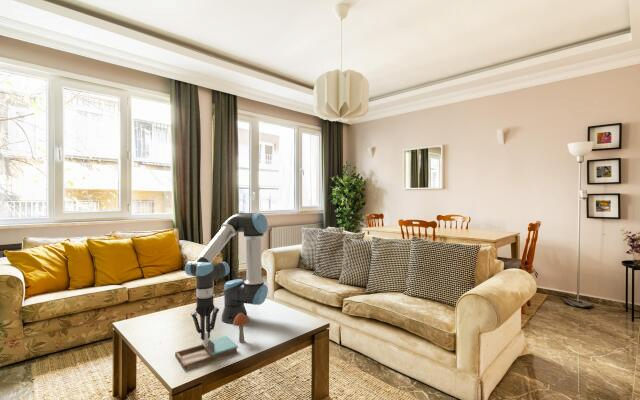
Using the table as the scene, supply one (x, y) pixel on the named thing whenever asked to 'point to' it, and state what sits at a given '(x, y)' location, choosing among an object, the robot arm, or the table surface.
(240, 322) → the mushroom
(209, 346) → the lid
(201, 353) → the board
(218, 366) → the table surface
